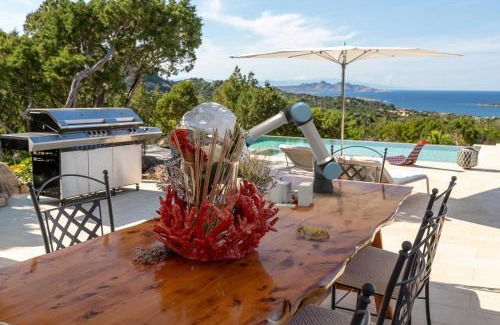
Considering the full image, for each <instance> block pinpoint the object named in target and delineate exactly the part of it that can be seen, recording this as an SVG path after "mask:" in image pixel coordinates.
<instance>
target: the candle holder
mask: <svg viewBox="0 0 500 325" xmlns="http://www.w3.org/2000/svg"><path fill="white" fill-rule="evenodd" d="M276 181H277V182H279V183H278V184H277V186H276V187H274V188H273V189H271V190H270V189H269V190H270V193H269V194H270V195H269V196H270V202H271V203H272V202H274V203H273V204H277V203H279V204H282V202H283V184H285V183H286V182H287V181H283V180H276ZM280 181H281V182H280ZM271 186H272V184H270V183H269V188H270V187H271Z"/></svg>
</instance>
